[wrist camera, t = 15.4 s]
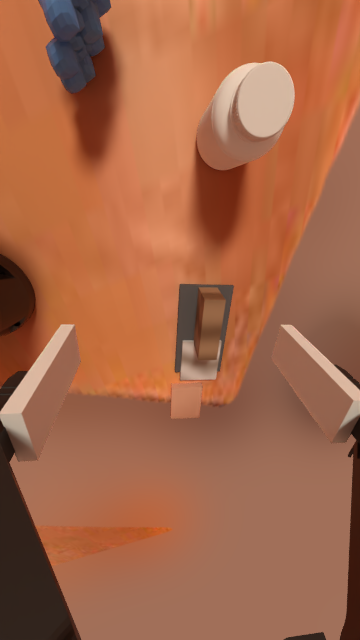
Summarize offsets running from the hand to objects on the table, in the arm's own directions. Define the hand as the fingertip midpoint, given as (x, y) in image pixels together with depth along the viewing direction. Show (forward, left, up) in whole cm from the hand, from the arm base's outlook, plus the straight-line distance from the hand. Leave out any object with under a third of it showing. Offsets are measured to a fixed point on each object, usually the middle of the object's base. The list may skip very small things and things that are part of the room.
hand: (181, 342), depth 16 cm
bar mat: (+8, -16, -29) cm, 34 cm away
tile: (+6, -30, -28) cm, 41 cm away
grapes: (-10, +24, -29) cm, 39 cm away
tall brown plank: (+8, -16, -28) cm, 34 cm away
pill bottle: (+8, +16, -29) cm, 34 cm away
